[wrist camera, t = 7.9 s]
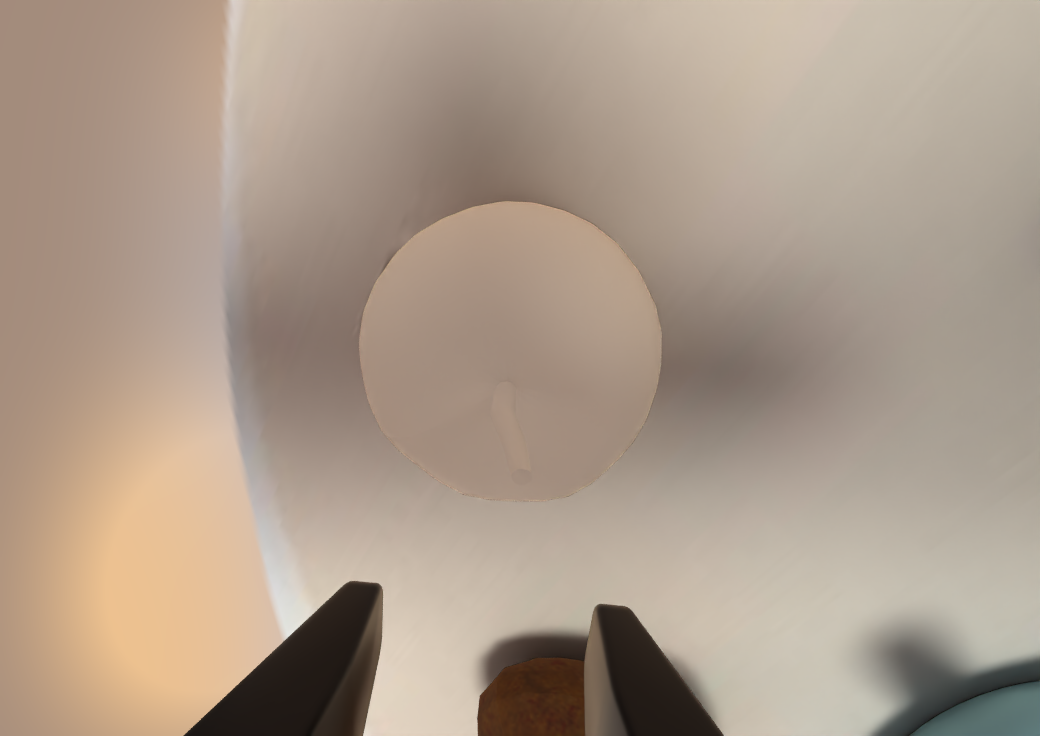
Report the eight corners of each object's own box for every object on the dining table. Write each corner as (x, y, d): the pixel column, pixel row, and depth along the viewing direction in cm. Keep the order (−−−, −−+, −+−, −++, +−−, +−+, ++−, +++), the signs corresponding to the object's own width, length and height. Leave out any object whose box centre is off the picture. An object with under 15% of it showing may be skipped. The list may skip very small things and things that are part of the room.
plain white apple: (464, 448, 21) (425, 646, 14) (348, 245, 19) (225, 356, 11) (674, 363, 20) (754, 532, 13) (580, 132, 17) (610, 176, 10)
